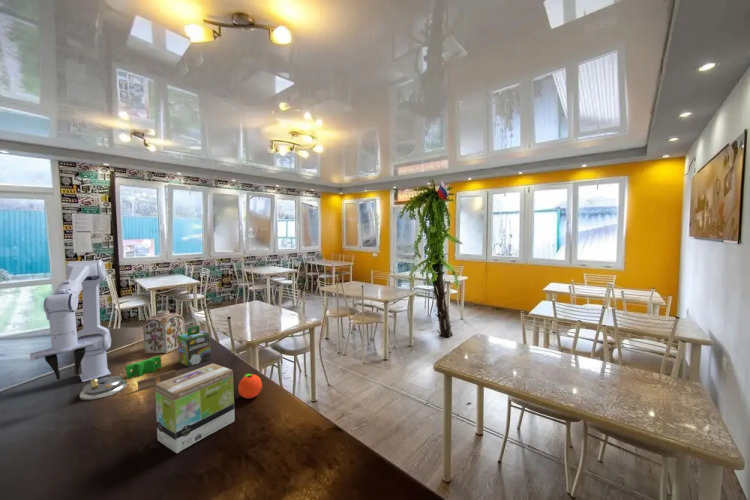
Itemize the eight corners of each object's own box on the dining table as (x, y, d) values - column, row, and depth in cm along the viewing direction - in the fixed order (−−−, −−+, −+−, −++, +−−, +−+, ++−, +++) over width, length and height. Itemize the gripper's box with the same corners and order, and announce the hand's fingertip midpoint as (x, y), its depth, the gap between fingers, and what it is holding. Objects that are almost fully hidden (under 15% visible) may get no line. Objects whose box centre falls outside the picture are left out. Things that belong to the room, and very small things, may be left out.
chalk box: (201, 355, 134) (199, 321, 134) (211, 359, 129) (209, 324, 128) (178, 362, 127) (175, 327, 126) (188, 367, 121) (185, 330, 121)
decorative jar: (143, 353, 139) (140, 314, 138) (165, 344, 151) (162, 308, 150) (166, 354, 137) (164, 314, 136) (186, 344, 149) (184, 308, 148)
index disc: (98, 381, 109) (97, 369, 109) (129, 378, 110) (128, 366, 110) (75, 396, 99) (74, 382, 99) (110, 392, 101) (108, 379, 100)
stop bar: (138, 390, 104) (137, 381, 104) (175, 377, 112) (174, 369, 112) (139, 391, 103) (138, 382, 103) (176, 378, 112) (175, 370, 112)
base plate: (77, 392, 104) (77, 389, 104) (122, 379, 113) (122, 376, 113) (82, 404, 96) (81, 401, 96) (130, 388, 105) (130, 386, 105)
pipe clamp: (130, 380, 113) (129, 368, 112) (126, 378, 115) (125, 366, 114) (164, 368, 122) (163, 357, 122) (160, 366, 124) (159, 355, 124)
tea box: (177, 455, 71) (173, 393, 71) (157, 441, 77) (152, 383, 76) (236, 421, 84) (233, 368, 83) (215, 411, 89) (212, 361, 89)
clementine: (233, 396, 97) (232, 374, 97) (254, 388, 102) (253, 367, 102) (244, 405, 92) (243, 382, 91) (266, 396, 97) (265, 373, 96)
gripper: (28, 341, 87) (33, 388, 88) (97, 328, 98) (100, 370, 98) (28, 337, 92) (32, 381, 92) (93, 325, 102) (97, 365, 103)
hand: (67, 375), depth 96 cm, fingers open, 3 cm apart
